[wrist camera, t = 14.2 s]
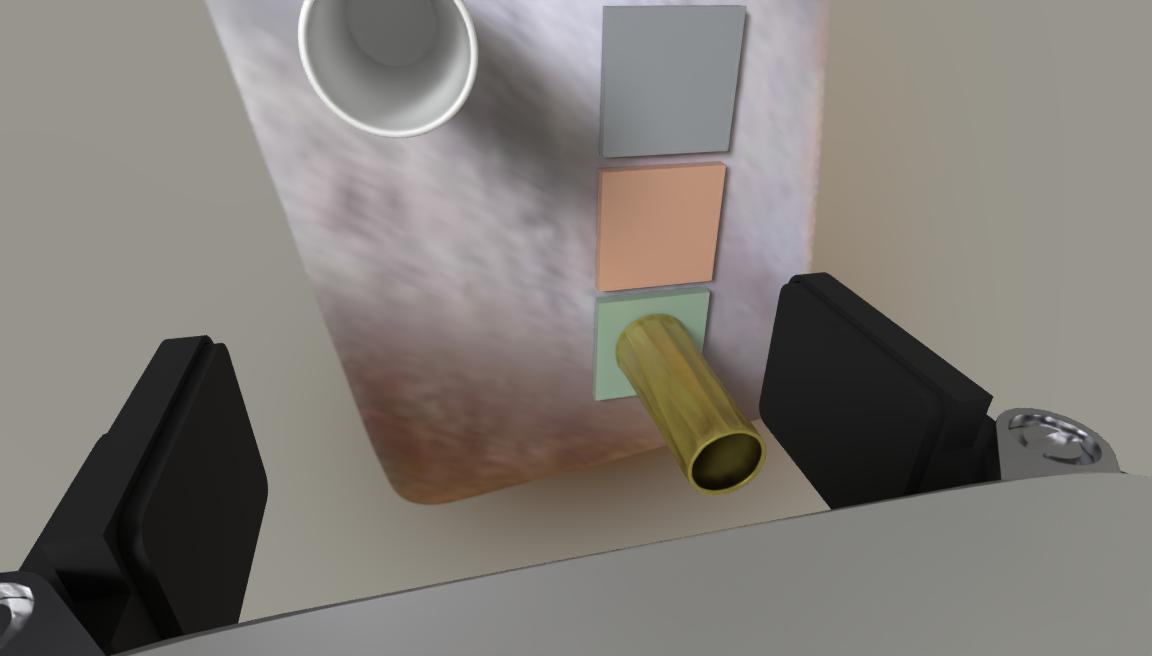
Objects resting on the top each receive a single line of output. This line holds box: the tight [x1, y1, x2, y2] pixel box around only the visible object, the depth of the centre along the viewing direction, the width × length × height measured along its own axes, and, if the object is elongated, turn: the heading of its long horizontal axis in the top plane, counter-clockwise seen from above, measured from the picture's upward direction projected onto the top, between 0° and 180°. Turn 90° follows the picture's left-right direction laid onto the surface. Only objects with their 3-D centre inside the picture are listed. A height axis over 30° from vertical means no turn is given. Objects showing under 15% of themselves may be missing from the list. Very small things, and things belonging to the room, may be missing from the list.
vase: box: [615, 314, 766, 495], centre depth 46 cm, size 6×6×14 cm
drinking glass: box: [298, 0, 478, 138], centre depth 31 cm, size 7×7×15 cm
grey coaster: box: [599, 5, 746, 158], centre depth 42 cm, size 9×9×1 cm
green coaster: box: [593, 287, 710, 401], centre depth 52 cm, size 9×9×1 cm
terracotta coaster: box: [596, 161, 726, 292], centre depth 47 cm, size 9×9×1 cm
